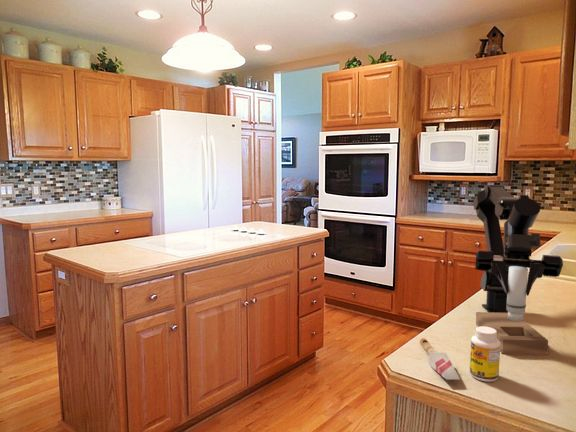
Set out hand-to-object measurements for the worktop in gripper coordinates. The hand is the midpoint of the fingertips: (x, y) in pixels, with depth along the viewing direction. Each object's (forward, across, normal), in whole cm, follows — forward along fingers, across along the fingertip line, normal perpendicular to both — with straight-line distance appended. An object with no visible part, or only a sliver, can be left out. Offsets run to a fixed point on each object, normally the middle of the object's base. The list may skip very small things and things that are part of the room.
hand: (517, 293), depth 102 cm
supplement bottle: (+22, -7, -3) cm, 23 cm away
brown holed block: (+6, -1, +13) cm, 14 cm away
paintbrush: (+21, -16, -1) cm, 26 cm away
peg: (+4, 0, +6) cm, 7 cm away
